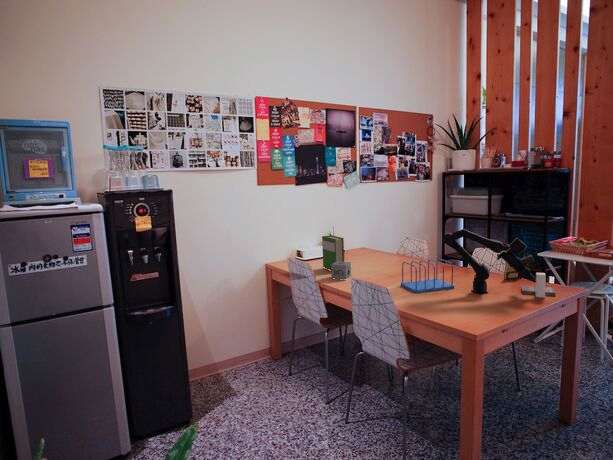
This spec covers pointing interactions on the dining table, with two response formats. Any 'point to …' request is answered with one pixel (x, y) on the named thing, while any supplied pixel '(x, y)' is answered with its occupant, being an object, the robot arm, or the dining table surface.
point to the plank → (531, 290)
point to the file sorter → (427, 284)
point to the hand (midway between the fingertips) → (535, 281)
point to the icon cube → (341, 270)
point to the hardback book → (332, 250)
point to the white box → (540, 285)
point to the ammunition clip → (510, 273)
